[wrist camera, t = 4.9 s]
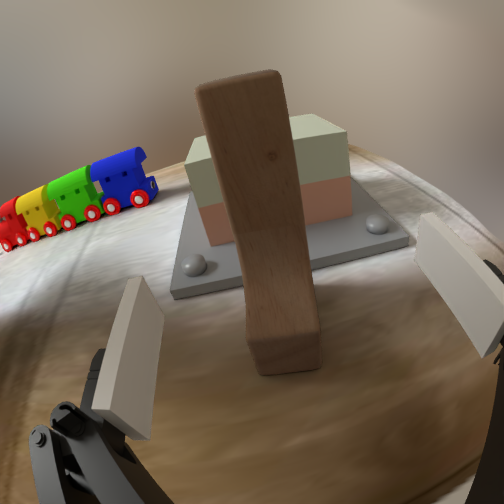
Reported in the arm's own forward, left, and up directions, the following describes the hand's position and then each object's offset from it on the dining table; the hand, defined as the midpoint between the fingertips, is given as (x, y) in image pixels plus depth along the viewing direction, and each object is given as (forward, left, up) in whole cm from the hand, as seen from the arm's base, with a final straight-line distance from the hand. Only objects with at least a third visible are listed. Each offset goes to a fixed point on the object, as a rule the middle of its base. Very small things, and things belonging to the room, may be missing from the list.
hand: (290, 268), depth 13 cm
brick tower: (+2, +23, -10) cm, 25 cm away
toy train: (-40, +41, -10) cm, 58 cm away
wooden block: (0, +5, -10) cm, 11 cm away
